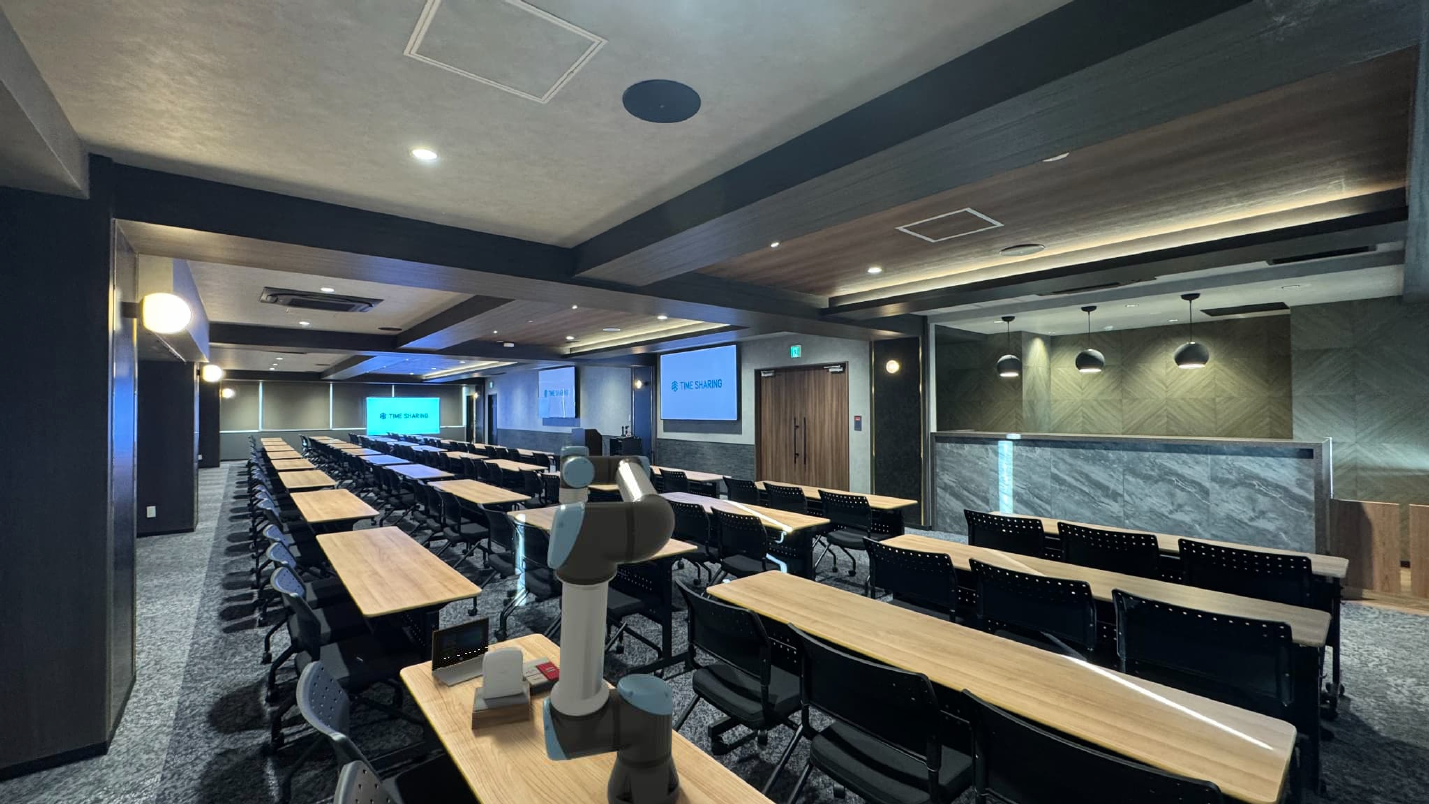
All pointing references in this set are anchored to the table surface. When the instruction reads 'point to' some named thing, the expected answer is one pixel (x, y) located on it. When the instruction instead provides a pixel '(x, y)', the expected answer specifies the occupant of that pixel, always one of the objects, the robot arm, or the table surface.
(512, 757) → the table surface
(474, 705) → the mirror
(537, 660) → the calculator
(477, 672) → the laptop
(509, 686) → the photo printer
